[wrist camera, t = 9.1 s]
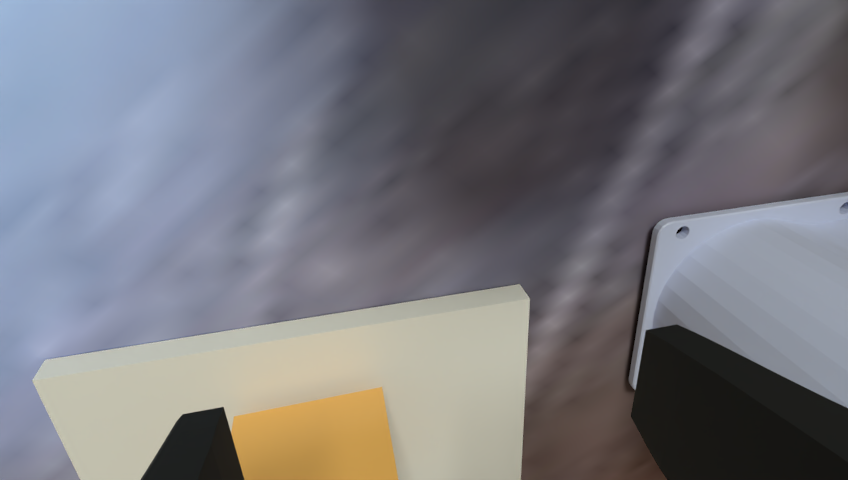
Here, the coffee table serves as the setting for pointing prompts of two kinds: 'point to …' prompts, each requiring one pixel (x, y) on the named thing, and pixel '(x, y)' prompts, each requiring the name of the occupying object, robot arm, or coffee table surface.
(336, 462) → the amber foam cube
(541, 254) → the coffee table surface
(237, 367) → the board
